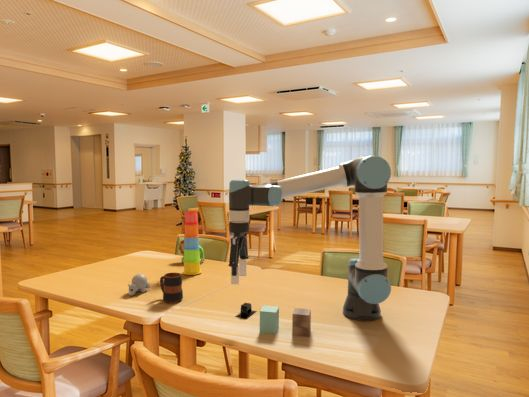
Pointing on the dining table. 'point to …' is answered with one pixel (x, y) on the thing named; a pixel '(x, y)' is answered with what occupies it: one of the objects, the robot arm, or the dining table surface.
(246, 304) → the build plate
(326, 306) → the dining table surface
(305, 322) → the walnut block
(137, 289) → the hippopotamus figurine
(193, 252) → the stacking cups
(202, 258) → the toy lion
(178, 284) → the mug
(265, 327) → the teal block
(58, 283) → the dining table surface
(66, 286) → the dining table surface
